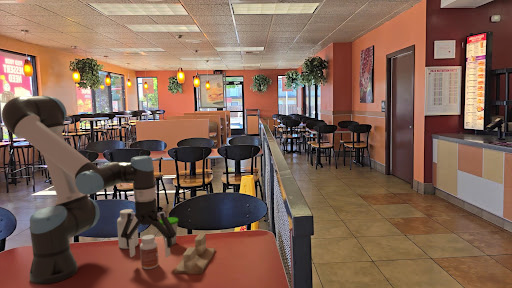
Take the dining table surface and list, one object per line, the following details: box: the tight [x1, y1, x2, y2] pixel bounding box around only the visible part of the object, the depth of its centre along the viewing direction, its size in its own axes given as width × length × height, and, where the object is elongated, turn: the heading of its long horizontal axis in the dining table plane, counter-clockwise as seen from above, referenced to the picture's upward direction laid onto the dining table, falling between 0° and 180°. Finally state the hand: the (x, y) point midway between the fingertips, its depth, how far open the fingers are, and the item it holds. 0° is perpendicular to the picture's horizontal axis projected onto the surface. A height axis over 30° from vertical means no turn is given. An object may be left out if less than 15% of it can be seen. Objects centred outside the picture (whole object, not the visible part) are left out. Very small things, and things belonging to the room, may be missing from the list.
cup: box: [159, 216, 179, 246], centre depth 162 cm, size 8×8×15 cm
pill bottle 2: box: [139, 234, 159, 270], centre depth 142 cm, size 6×6×11 cm
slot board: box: [173, 233, 216, 275], centre depth 145 cm, size 10×20×7 cm, turn 172°
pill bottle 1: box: [116, 208, 139, 250], centre depth 162 cm, size 8×8×15 cm
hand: (150, 255), depth 142 cm, fingers open, 13 cm apart
